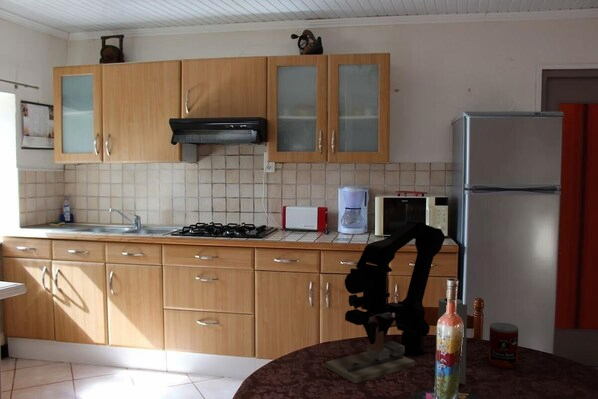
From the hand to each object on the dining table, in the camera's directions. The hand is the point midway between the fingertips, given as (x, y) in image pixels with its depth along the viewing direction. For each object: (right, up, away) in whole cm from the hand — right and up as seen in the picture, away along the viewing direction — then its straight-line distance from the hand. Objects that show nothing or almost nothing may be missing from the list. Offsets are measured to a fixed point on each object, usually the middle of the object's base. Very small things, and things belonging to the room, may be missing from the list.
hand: (375, 342), depth 144 cm
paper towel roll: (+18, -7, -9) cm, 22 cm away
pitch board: (-2, -7, -1) cm, 7 cm away
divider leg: (0, -5, -1) cm, 5 cm away
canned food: (+37, -7, +2) cm, 38 cm away
